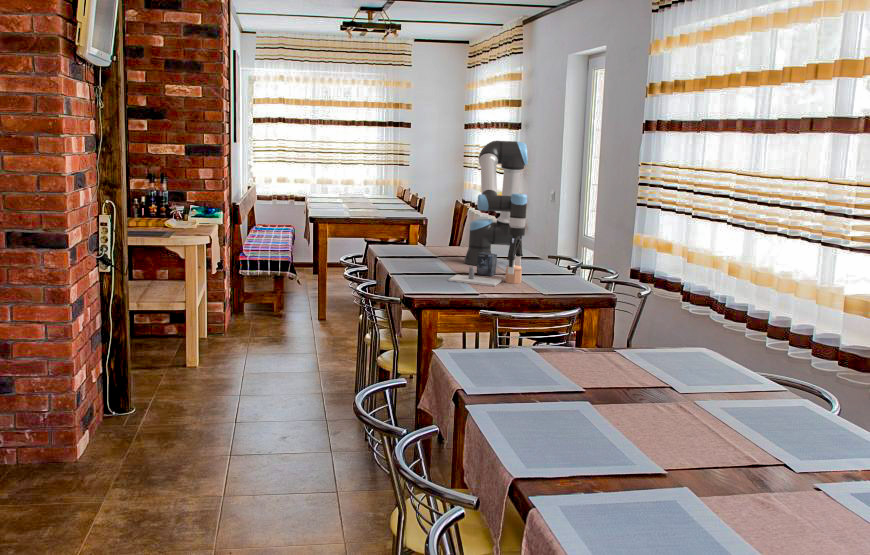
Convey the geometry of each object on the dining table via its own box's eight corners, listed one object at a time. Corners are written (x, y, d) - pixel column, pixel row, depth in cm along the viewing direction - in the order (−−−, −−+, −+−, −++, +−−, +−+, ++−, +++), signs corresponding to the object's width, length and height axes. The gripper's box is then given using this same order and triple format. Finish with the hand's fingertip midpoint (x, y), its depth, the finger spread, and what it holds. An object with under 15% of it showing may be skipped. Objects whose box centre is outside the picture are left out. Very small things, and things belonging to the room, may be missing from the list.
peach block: (507, 280, 402) (508, 263, 400) (522, 281, 400) (523, 264, 398) (503, 282, 395) (505, 265, 394) (518, 284, 393) (520, 267, 391)
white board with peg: (456, 276, 403) (457, 263, 402) (501, 281, 396) (502, 268, 395) (448, 281, 391) (449, 267, 390) (494, 286, 384) (495, 272, 383)
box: (476, 274, 412) (477, 253, 410) (481, 273, 417) (482, 251, 415) (490, 276, 408) (492, 255, 406) (495, 275, 413) (497, 253, 411)
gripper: (515, 224, 405) (512, 267, 409) (502, 228, 382) (499, 274, 385) (530, 225, 403) (527, 269, 407) (519, 229, 380) (515, 276, 383)
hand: (513, 272), depth 396 cm, fingers open, 13 cm apart
